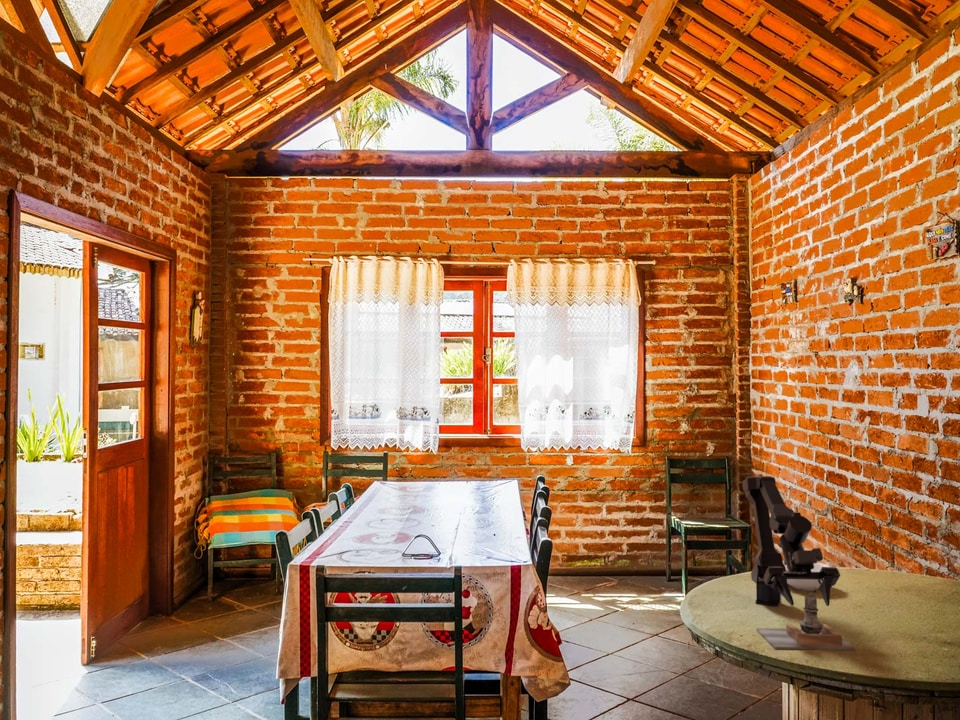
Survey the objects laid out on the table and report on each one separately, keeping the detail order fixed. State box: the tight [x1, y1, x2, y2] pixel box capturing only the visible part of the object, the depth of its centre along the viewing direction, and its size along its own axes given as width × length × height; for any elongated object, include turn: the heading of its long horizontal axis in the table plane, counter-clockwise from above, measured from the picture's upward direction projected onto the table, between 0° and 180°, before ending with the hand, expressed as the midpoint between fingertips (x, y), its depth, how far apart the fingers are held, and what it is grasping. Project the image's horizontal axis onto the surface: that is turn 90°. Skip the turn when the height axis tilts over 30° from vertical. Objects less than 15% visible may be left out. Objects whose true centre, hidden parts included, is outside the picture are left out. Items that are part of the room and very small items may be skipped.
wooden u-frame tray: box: [756, 623, 856, 651], centre depth 194 cm, size 14×20×3 cm
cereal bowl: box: [783, 560, 830, 591], centre depth 244 cm, size 17×17×7 cm
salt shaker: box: [798, 591, 824, 634], centre depth 194 cm, size 6×6×12 cm
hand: (810, 605), depth 194 cm, fingers open, 9 cm apart
